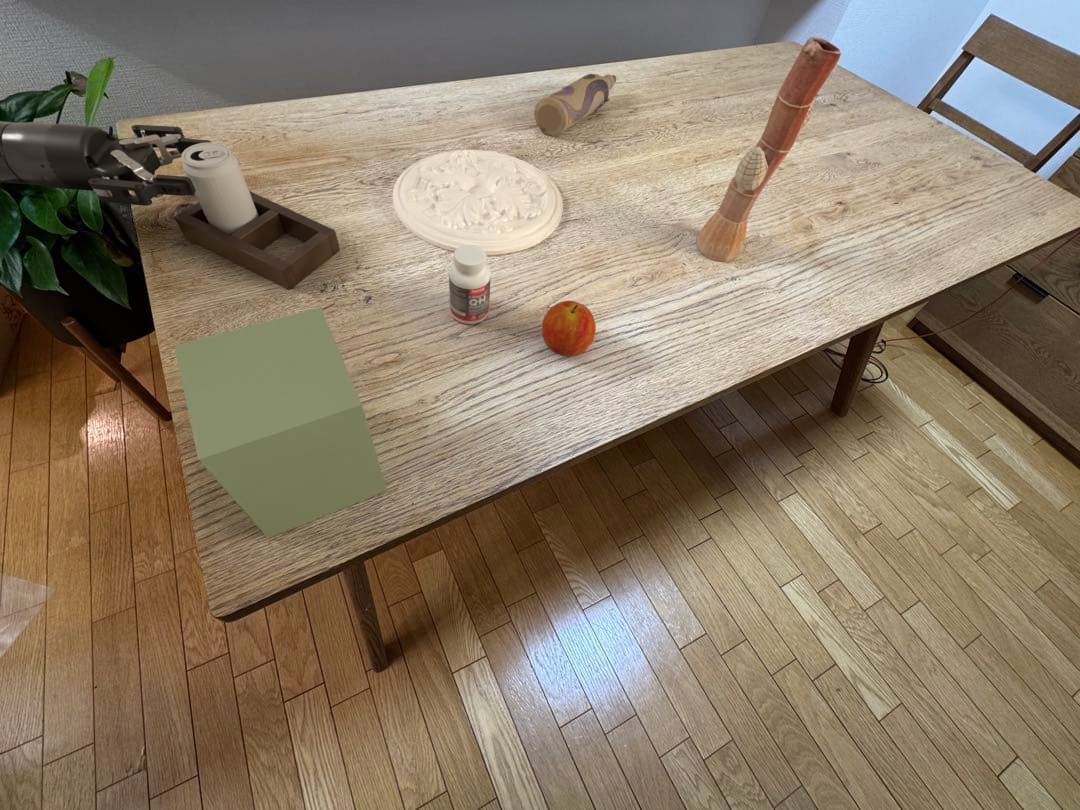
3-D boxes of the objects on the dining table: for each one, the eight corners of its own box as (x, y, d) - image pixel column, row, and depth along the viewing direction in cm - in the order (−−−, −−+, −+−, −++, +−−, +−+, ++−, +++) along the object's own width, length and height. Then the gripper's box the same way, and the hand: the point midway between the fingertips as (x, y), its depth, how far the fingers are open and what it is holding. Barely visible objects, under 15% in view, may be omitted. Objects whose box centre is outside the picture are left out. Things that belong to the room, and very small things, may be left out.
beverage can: (213, 223, 75) (175, 143, 66) (260, 216, 77) (230, 137, 68) (218, 250, 72) (179, 170, 63) (267, 242, 74) (236, 163, 65)
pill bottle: (475, 331, 69) (475, 275, 61) (442, 314, 70) (438, 256, 62) (496, 308, 72) (499, 251, 64) (464, 292, 73) (463, 234, 65)
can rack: (289, 290, 70) (282, 270, 67) (184, 238, 73) (172, 216, 70) (340, 250, 75) (335, 230, 72) (240, 203, 79) (231, 182, 76)
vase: (708, 266, 83) (808, 57, 58) (684, 238, 86) (768, 30, 62) (759, 254, 86) (874, 52, 62) (733, 228, 90) (832, 27, 65)
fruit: (528, 344, 69) (534, 300, 62) (563, 320, 72) (573, 276, 66) (565, 375, 66) (575, 333, 60) (600, 350, 70) (613, 307, 63)
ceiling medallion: (586, 188, 92) (590, 171, 89) (517, 278, 76) (519, 261, 73) (449, 138, 96) (448, 120, 93) (357, 214, 80) (353, 195, 78)
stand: (387, 490, 55) (361, 404, 42) (268, 538, 50) (198, 459, 37) (353, 405, 60) (320, 306, 47) (242, 442, 56) (174, 345, 43)
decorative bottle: (562, 143, 99) (567, 107, 94) (531, 128, 101) (534, 92, 96) (626, 100, 113) (634, 66, 107) (597, 88, 115) (604, 54, 109)
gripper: (14, 159, 58) (170, 171, 60) (74, 98, 66) (209, 110, 68) (58, 217, 64) (198, 226, 66) (107, 155, 72) (231, 164, 74)
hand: (203, 167), depth 67 cm, fingers open, 8 cm apart
